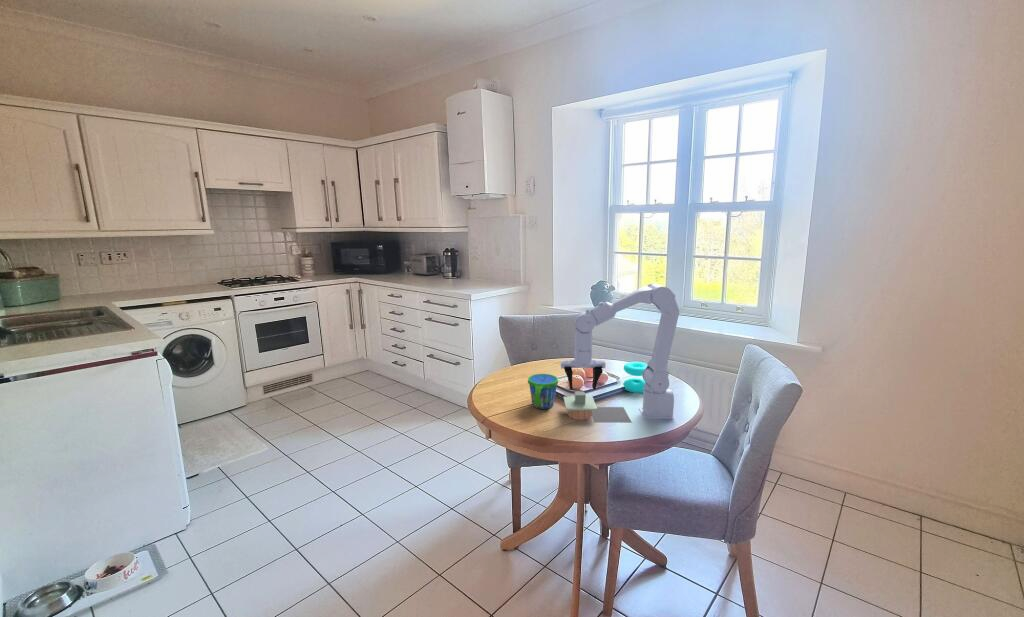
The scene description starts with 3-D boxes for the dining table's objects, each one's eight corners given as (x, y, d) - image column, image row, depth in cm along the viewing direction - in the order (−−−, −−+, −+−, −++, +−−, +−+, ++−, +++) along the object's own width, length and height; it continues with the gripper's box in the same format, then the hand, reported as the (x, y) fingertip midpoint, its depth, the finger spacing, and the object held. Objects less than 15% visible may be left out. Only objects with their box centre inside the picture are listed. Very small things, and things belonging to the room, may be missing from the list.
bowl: (589, 410, 150) (590, 399, 149) (593, 420, 142) (593, 409, 141) (566, 410, 150) (566, 399, 149) (568, 420, 142) (569, 409, 141)
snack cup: (549, 417, 145) (549, 388, 143) (520, 411, 149) (520, 383, 147) (563, 400, 159) (564, 373, 157) (537, 395, 163) (537, 369, 161)
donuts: (621, 360, 172) (646, 360, 172) (620, 384, 174) (645, 384, 174) (627, 368, 162) (654, 368, 162) (626, 394, 164) (652, 394, 164)
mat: (623, 408, 151) (623, 407, 151) (631, 423, 140) (631, 422, 140) (588, 408, 152) (588, 406, 152) (594, 423, 140) (594, 422, 140)
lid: (592, 398, 150) (592, 387, 149) (597, 410, 140) (597, 399, 140) (563, 398, 150) (563, 387, 150) (566, 410, 141) (566, 399, 140)
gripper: (562, 352, 139) (561, 392, 141) (607, 352, 138) (606, 392, 141) (560, 346, 146) (559, 385, 148) (603, 346, 145) (602, 384, 148)
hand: (582, 388), depth 145 cm, fingers open, 7 cm apart
